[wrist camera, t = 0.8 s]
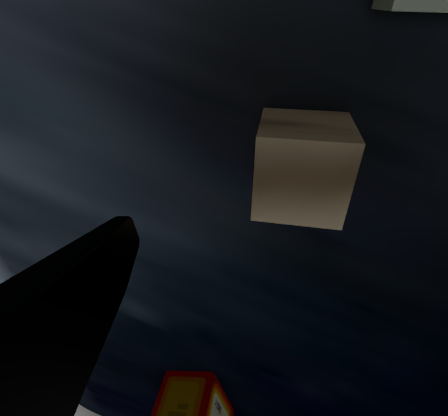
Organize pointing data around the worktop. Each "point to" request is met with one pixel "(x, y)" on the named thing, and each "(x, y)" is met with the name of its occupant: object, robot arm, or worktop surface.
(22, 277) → the robot arm
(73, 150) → the worktop surface
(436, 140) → the worktop surface
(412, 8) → the sage block
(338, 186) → the maple cube
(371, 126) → the worktop surface
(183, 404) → the baking soda box
